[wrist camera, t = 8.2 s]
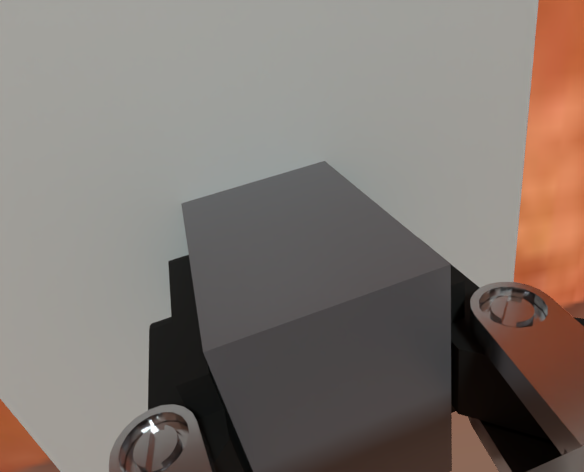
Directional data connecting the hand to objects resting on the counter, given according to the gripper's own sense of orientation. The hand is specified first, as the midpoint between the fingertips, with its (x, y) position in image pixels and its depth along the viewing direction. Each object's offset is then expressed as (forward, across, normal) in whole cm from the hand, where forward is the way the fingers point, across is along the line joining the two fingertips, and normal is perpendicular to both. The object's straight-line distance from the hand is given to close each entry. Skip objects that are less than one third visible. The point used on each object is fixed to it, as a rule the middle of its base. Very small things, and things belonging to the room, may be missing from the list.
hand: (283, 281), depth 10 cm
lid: (+2, 0, 0) cm, 2 cm away
